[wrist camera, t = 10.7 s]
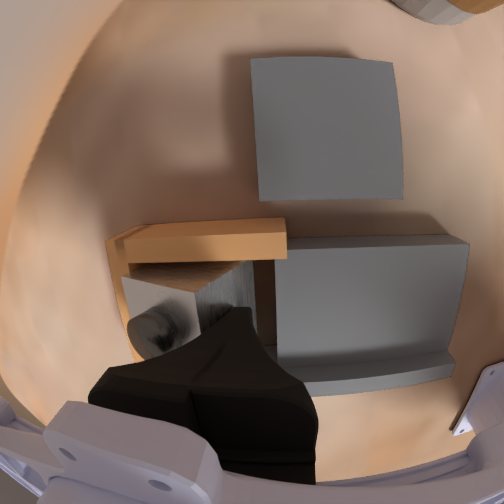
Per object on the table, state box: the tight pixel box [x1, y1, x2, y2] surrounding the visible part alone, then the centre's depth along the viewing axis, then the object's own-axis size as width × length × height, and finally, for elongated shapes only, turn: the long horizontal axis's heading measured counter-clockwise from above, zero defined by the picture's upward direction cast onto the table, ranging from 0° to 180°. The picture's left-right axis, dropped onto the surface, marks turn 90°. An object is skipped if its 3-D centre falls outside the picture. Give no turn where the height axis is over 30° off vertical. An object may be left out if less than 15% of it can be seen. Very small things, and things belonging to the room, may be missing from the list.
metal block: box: [121, 260, 257, 360], centre depth 12 cm, size 4×4×5 cm
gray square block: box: [250, 56, 403, 202], centre depth 11 cm, size 6×6×2 cm
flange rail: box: [105, 217, 470, 397], centre depth 13 cm, size 16×8×3 cm, turn 93°
